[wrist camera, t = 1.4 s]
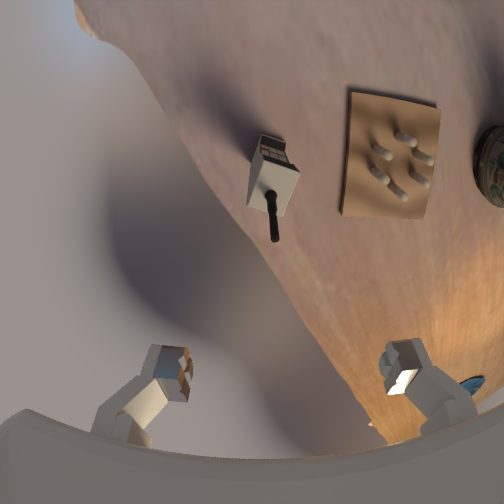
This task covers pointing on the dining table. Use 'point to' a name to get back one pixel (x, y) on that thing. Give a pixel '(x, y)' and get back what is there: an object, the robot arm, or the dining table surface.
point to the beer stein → (490, 165)
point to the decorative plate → (473, 384)
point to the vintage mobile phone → (271, 180)
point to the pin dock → (389, 157)
